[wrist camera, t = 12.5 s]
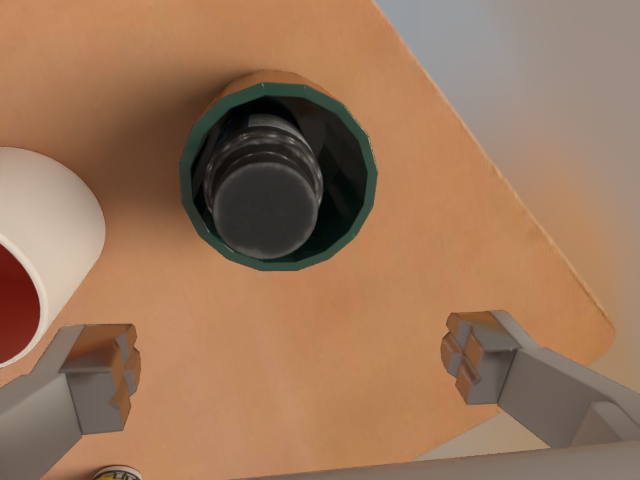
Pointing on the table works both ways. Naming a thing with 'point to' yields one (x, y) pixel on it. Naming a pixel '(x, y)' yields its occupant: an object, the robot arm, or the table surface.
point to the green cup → (324, 140)
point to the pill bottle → (263, 184)
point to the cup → (41, 245)
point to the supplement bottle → (118, 474)
